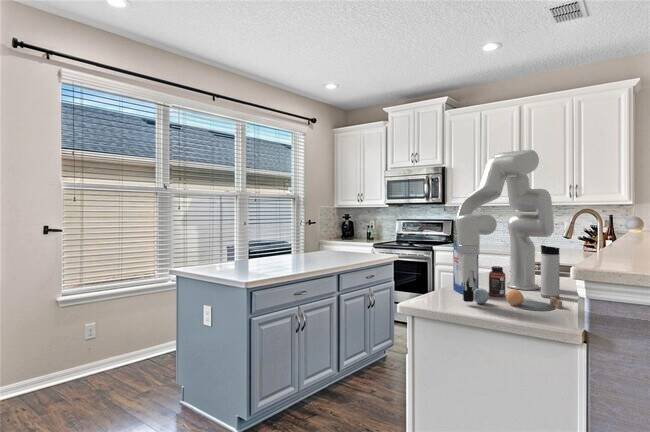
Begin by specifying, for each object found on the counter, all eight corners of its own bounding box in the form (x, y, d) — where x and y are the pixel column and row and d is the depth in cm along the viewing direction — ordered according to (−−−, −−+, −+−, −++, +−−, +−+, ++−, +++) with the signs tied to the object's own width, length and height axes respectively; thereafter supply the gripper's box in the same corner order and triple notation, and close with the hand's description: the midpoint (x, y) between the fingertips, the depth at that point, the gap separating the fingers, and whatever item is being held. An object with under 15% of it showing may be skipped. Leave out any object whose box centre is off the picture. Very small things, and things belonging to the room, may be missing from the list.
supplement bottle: (507, 297, 155) (507, 268, 154) (490, 296, 156) (490, 267, 156) (503, 294, 161) (503, 265, 160) (487, 293, 162) (487, 265, 162)
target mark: (505, 300, 149) (505, 300, 149) (545, 301, 147) (545, 301, 147) (517, 310, 135) (517, 309, 135) (562, 311, 133) (562, 310, 133)
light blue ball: (483, 287, 149) (487, 302, 147) (468, 290, 149) (472, 305, 147) (488, 286, 143) (492, 302, 142) (473, 288, 143) (477, 304, 142)
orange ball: (510, 285, 145) (523, 294, 144) (501, 297, 145) (513, 306, 145) (515, 288, 139) (529, 298, 139) (505, 300, 140) (518, 310, 139)
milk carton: (453, 289, 169) (453, 242, 169) (467, 289, 170) (467, 242, 170) (463, 295, 160) (463, 244, 159) (478, 294, 160) (478, 244, 160)
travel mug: (536, 295, 157) (536, 244, 157) (552, 295, 158) (552, 244, 158) (546, 299, 151) (546, 246, 151) (563, 298, 152) (563, 245, 151)
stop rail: (550, 303, 144) (550, 296, 144) (553, 304, 144) (553, 297, 144) (558, 308, 137) (558, 301, 137) (562, 308, 137) (562, 301, 137)
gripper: (453, 247, 150) (453, 296, 151) (461, 252, 136) (461, 306, 136) (474, 247, 149) (474, 296, 150) (484, 252, 135) (484, 306, 135)
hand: (468, 301), depth 143 cm, fingers closed
